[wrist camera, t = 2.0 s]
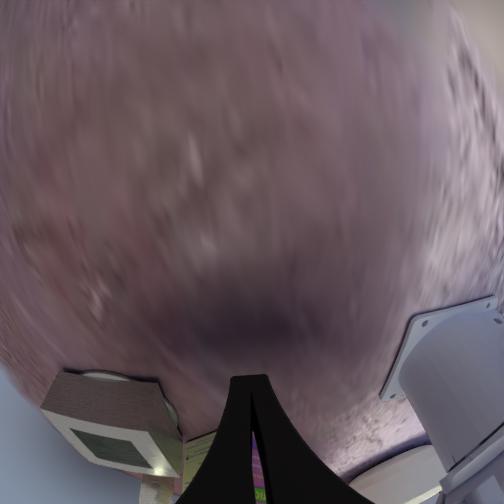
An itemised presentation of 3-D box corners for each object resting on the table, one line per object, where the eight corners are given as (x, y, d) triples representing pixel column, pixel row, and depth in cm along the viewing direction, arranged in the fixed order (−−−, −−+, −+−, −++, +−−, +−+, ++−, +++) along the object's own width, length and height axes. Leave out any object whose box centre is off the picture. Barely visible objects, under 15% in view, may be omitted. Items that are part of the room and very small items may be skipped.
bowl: (446, 443, 28) (463, 476, 20) (347, 494, 31) (357, 529, 24) (448, 408, 21) (478, 459, 13) (302, 482, 24) (313, 535, 16)
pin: (171, 456, 19) (166, 520, 12) (178, 467, 20) (175, 524, 14) (141, 453, 19) (132, 513, 12) (150, 464, 20) (144, 520, 13)
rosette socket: (162, 375, 14) (151, 429, 11) (187, 437, 17) (185, 479, 14) (56, 363, 14) (34, 404, 10) (99, 427, 17) (88, 462, 13)
